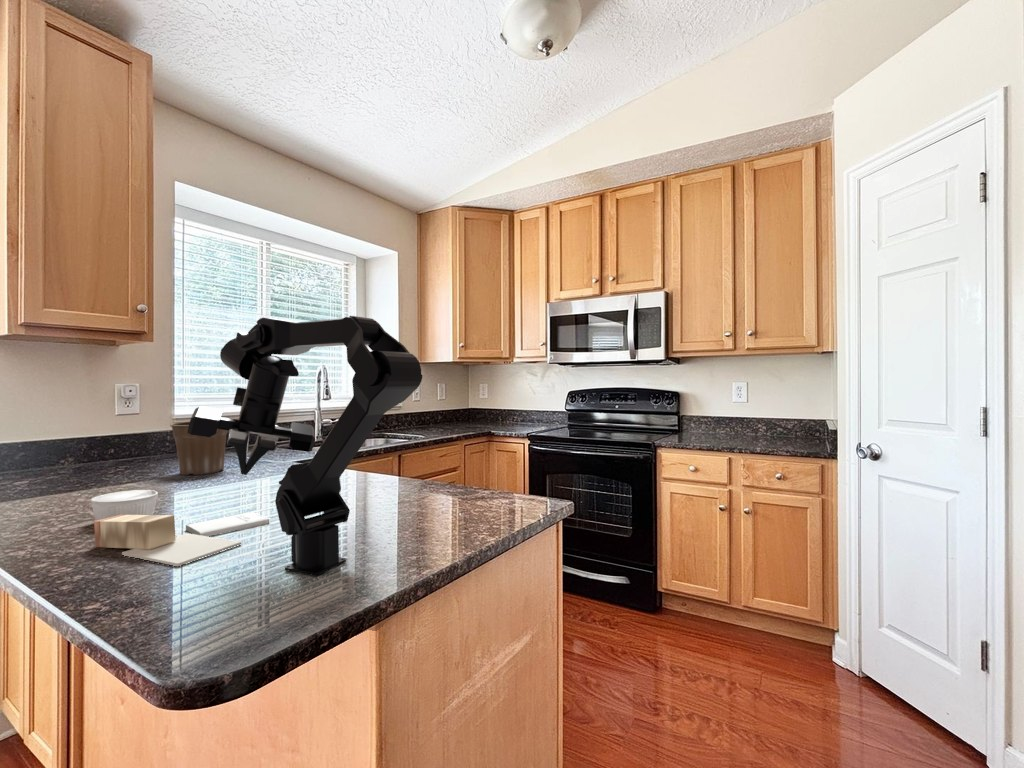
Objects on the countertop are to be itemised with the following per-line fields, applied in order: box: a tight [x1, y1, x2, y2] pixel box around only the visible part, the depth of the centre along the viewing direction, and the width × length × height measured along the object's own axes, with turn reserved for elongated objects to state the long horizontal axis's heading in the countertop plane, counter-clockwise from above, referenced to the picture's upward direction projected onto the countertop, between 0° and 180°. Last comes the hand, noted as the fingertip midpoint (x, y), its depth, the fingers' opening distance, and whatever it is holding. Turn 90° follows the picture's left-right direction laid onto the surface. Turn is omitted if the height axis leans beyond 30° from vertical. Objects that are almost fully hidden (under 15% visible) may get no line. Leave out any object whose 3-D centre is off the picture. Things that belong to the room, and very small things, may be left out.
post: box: [93, 514, 176, 549], centre depth 87 cm, size 4×4×13 cm
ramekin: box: [90, 489, 159, 521], centre depth 104 cm, size 11×11×5 cm
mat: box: [121, 532, 242, 567], centre depth 84 cm, size 14×11×1 cm
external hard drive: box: [185, 511, 270, 537], centre depth 98 cm, size 2×8×12 cm
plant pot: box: [169, 421, 229, 476], centre depth 160 cm, size 16×16×16 cm
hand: (243, 473), depth 85 cm, fingers closed
